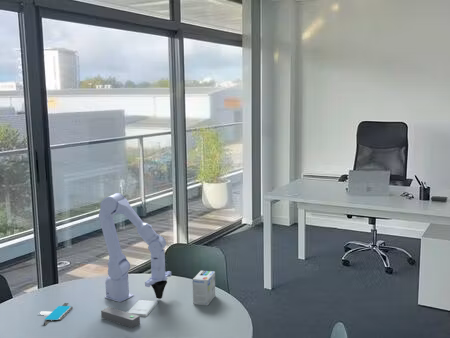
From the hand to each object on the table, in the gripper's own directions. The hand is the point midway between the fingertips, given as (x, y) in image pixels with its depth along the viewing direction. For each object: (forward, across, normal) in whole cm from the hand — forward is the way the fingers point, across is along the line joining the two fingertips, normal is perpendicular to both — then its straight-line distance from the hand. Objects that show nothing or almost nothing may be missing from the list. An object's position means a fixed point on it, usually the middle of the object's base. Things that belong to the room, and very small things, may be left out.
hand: (159, 297), depth 195 cm
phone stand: (+2, -31, +27) cm, 41 cm away
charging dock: (+1, -22, 0) cm, 22 cm away
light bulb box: (+1, +10, -16) cm, 19 cm away
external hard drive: (+2, -10, 0) cm, 10 cm away
